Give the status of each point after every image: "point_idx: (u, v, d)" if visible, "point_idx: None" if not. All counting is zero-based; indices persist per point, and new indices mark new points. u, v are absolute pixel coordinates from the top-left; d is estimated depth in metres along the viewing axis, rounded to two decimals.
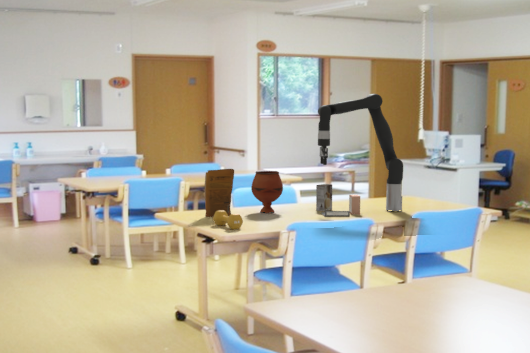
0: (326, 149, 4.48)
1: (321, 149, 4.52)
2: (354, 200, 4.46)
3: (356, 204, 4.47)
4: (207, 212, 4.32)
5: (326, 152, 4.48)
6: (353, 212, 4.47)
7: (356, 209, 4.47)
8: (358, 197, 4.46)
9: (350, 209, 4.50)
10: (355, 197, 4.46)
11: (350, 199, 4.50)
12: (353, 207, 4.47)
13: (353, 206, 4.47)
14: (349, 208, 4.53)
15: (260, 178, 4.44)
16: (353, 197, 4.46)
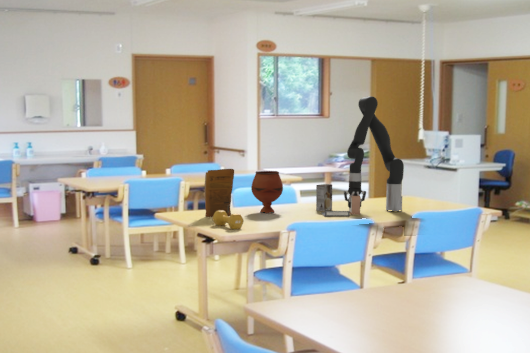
0: None
1: (358, 192, 4.48)
2: (354, 200, 4.46)
3: (356, 204, 4.47)
4: (207, 212, 4.32)
5: None
6: (353, 212, 4.47)
7: (356, 209, 4.47)
8: (358, 197, 4.46)
9: (350, 209, 4.50)
10: (355, 197, 4.46)
11: None
12: (353, 207, 4.47)
13: (353, 206, 4.47)
14: (349, 208, 4.53)
15: (260, 178, 4.44)
16: (353, 197, 4.46)
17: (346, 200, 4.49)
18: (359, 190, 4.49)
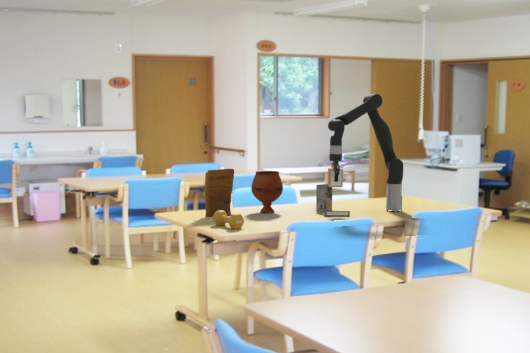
0: None
1: None
2: None
3: None
4: (207, 212, 4.32)
5: None
6: None
7: None
8: None
9: (337, 183, 4.42)
10: None
11: (336, 172, 4.41)
12: None
13: None
14: (332, 182, 4.42)
15: (260, 178, 4.44)
16: None
17: None
18: None
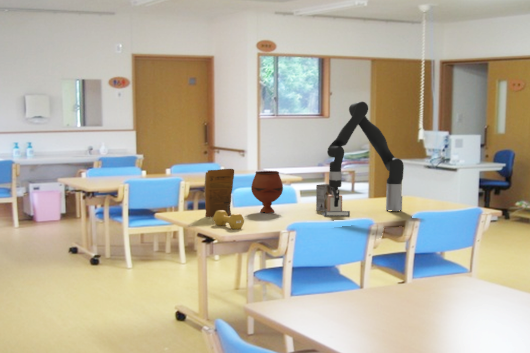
0: None
1: None
2: None
3: None
4: (207, 212, 4.32)
5: None
6: None
7: None
8: None
9: (336, 209, 4.44)
10: None
11: None
12: None
13: None
14: (332, 209, 4.43)
15: (260, 178, 4.44)
16: None
17: None
18: None
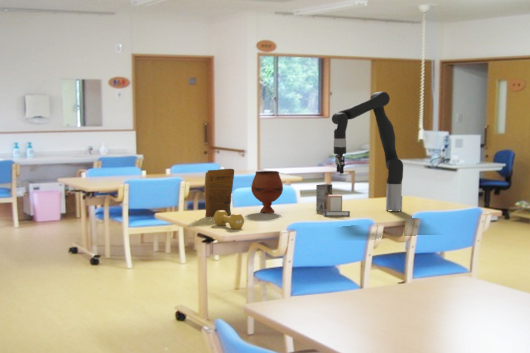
0: None
1: None
2: None
3: None
4: (207, 212, 4.32)
5: None
6: None
7: None
8: None
9: (336, 209, 4.44)
10: None
11: (335, 199, 4.43)
12: None
13: None
14: (332, 209, 4.43)
15: (260, 178, 4.44)
16: None
17: (344, 165, 4.40)
18: None
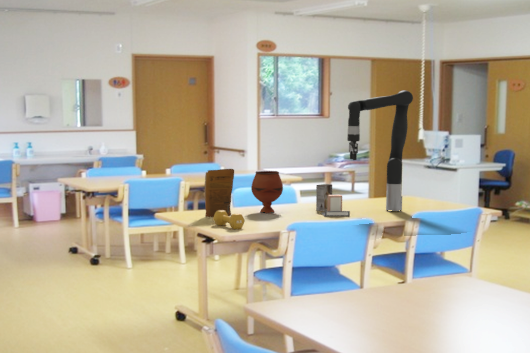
0: None
1: None
2: None
3: None
4: (207, 212, 4.32)
5: None
6: None
7: None
8: None
9: (336, 209, 4.44)
10: None
11: (335, 199, 4.43)
12: None
13: None
14: (332, 209, 4.43)
15: (260, 178, 4.44)
16: None
17: (357, 152, 4.52)
18: None
